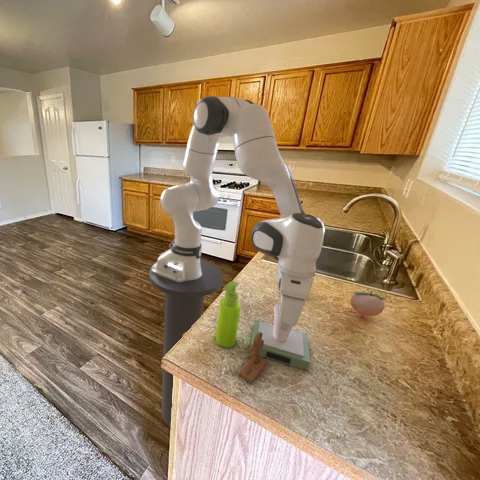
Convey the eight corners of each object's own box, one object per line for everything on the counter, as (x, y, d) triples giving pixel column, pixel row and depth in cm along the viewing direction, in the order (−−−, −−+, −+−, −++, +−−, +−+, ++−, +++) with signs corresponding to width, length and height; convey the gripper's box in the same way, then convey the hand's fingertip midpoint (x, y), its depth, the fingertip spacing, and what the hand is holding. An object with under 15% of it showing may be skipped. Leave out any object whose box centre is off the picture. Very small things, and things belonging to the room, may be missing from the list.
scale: (248, 353, 76) (250, 343, 74) (253, 327, 86) (255, 318, 85) (307, 372, 70) (310, 361, 69) (305, 341, 80) (307, 331, 79)
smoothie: (266, 328, 80) (274, 288, 75) (288, 330, 79) (298, 290, 74) (270, 343, 74) (280, 301, 69) (295, 346, 73) (306, 304, 68)
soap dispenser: (209, 342, 79) (216, 284, 72) (221, 330, 84) (228, 275, 77) (227, 352, 76) (235, 292, 68) (238, 340, 80) (247, 283, 73)
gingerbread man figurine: (253, 356, 75) (259, 321, 70) (266, 364, 72) (274, 328, 68) (237, 374, 69) (243, 338, 64) (251, 383, 66) (258, 346, 62)
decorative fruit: (353, 321, 90) (362, 296, 86) (344, 307, 97) (351, 283, 94) (385, 325, 88) (395, 300, 84) (373, 311, 95) (382, 287, 92)
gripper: (282, 258, 79) (273, 297, 85) (280, 291, 62) (270, 338, 67) (305, 262, 77) (295, 302, 82) (310, 298, 60) (297, 346, 65)
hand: (284, 318), depth 75 cm, fingers open, 8 cm apart
